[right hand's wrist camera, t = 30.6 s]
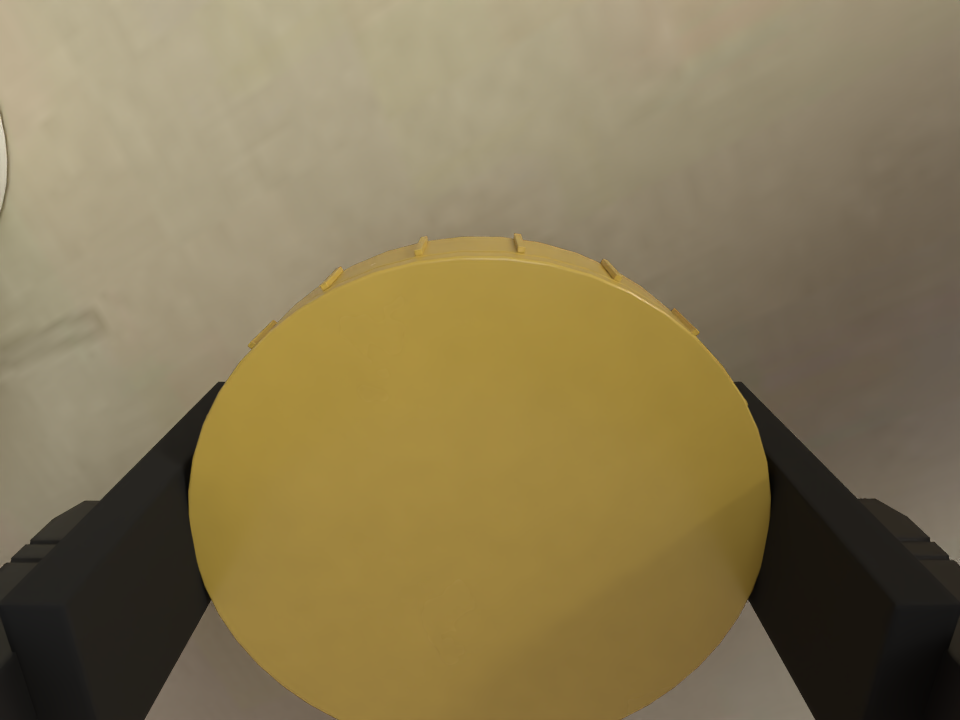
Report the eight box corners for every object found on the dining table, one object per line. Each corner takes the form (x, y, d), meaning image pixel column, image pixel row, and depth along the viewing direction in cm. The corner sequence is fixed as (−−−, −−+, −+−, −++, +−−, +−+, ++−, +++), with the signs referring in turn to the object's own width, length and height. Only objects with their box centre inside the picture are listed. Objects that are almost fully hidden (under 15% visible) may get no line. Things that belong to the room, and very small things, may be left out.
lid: (140, 543, 12) (91, 605, 11) (397, 111, 10) (381, 109, 8) (535, 743, 14) (542, 819, 13) (843, 427, 12) (901, 475, 10)
